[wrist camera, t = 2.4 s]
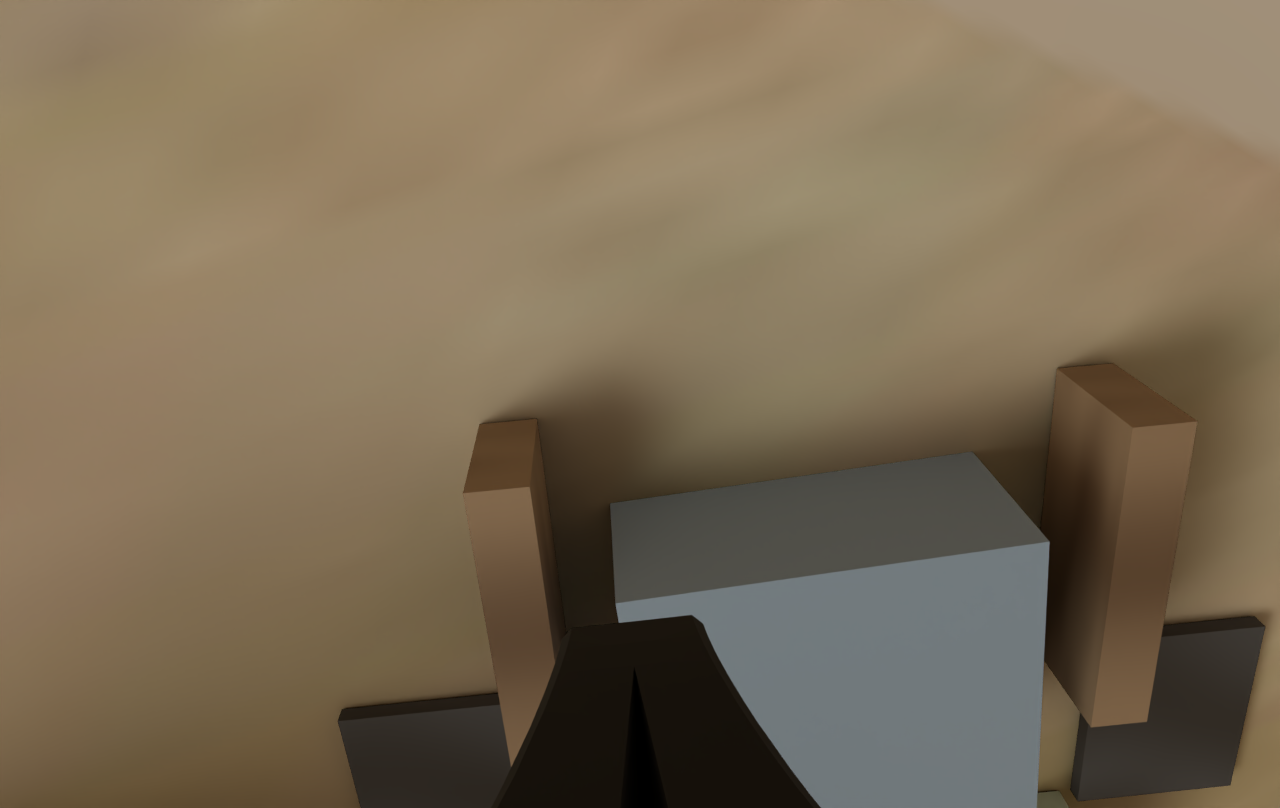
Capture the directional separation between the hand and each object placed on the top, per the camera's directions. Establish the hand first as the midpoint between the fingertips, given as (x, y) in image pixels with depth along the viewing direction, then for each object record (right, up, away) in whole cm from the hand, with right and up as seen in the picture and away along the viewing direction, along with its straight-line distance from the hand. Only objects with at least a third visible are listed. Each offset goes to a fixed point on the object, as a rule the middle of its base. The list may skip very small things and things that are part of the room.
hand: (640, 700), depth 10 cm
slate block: (+4, -2, +13) cm, 13 cm away
